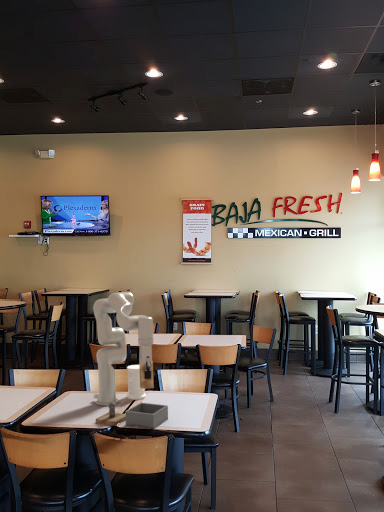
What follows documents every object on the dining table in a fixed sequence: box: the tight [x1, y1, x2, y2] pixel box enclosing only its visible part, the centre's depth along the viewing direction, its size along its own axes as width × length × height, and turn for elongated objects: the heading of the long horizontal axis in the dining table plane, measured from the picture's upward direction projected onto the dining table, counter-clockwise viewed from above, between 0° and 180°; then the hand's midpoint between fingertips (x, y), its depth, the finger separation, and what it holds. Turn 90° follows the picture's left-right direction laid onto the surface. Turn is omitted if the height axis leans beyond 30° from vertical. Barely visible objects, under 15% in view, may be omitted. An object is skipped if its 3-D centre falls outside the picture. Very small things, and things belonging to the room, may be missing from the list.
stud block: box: [95, 402, 126, 427], centre depth 250 cm, size 12×12×9 cm
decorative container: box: [126, 364, 147, 401], centre depth 292 cm, size 12×12×18 cm
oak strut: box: [138, 360, 155, 390], centre depth 246 cm, size 6×6×13 cm
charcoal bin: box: [125, 402, 169, 430], centre depth 246 cm, size 16×16×7 cm
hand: (146, 376), depth 246 cm, fingers closed on oak strut, 5 cm apart
